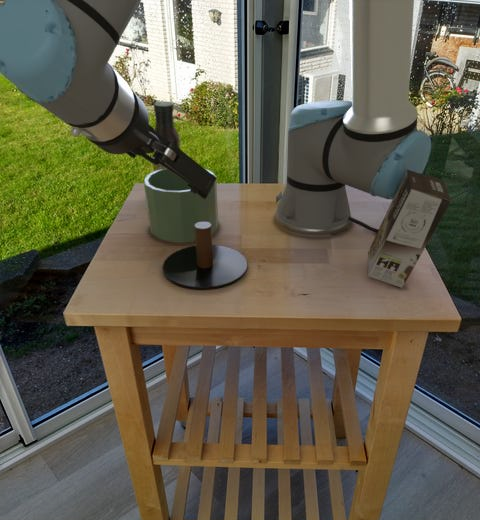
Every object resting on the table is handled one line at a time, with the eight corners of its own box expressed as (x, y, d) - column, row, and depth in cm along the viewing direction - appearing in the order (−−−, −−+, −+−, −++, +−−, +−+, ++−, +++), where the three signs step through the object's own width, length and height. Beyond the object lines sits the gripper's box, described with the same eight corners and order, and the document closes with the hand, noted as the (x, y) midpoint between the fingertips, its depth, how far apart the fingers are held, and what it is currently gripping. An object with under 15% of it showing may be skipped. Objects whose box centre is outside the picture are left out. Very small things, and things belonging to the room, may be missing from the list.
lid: (250, 252, 92) (251, 208, 87) (242, 295, 81) (242, 248, 75) (173, 248, 94) (169, 205, 89) (154, 290, 82) (148, 243, 77)
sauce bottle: (150, 194, 115) (139, 104, 103) (168, 186, 119) (159, 98, 107) (171, 201, 112) (163, 108, 100) (189, 192, 116) (182, 102, 104)
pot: (221, 215, 106) (220, 167, 99) (212, 245, 95) (209, 193, 88) (159, 213, 107) (154, 165, 100) (142, 242, 96) (135, 190, 90)
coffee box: (403, 289, 82) (452, 201, 72) (366, 277, 82) (410, 188, 72) (401, 262, 89) (445, 179, 79) (367, 251, 89) (407, 167, 79)
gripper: (7, 93, 58) (96, 154, 79) (179, 192, 54) (226, 229, 74) (37, 35, 58) (119, 112, 78) (213, 130, 53) (251, 185, 74)
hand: (171, 169), depth 76 cm, fingers open, 13 cm apart
